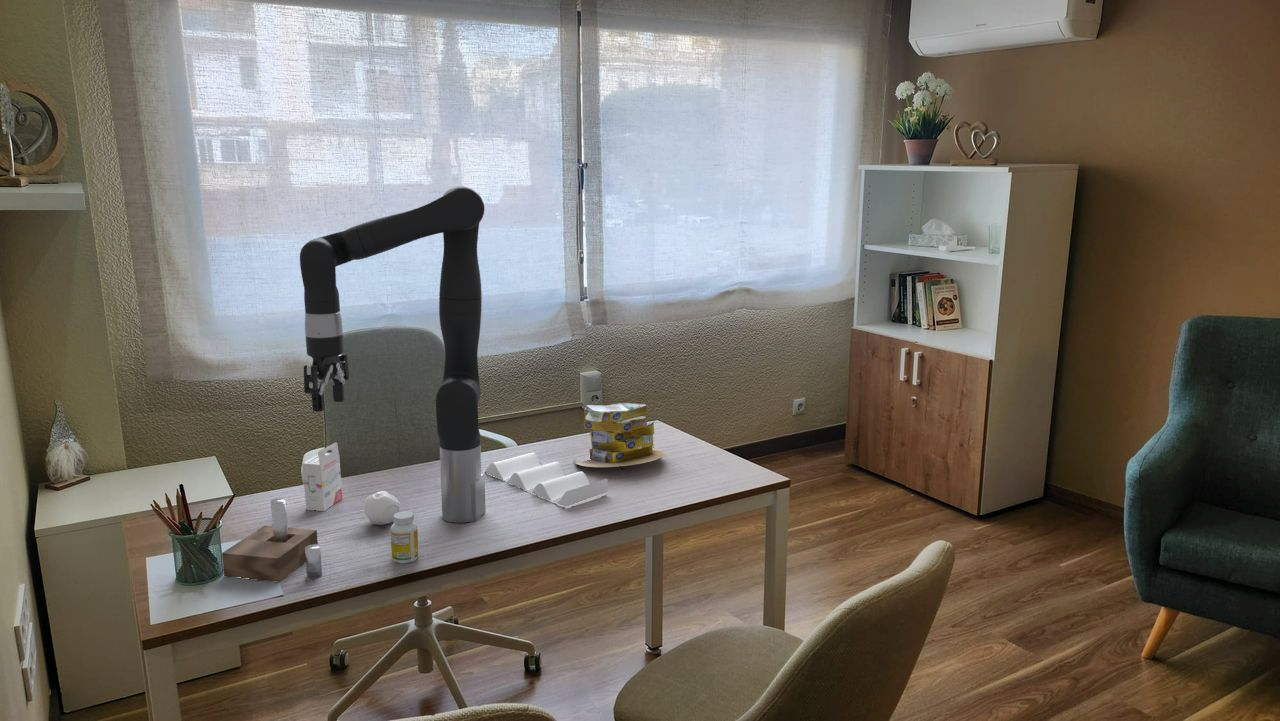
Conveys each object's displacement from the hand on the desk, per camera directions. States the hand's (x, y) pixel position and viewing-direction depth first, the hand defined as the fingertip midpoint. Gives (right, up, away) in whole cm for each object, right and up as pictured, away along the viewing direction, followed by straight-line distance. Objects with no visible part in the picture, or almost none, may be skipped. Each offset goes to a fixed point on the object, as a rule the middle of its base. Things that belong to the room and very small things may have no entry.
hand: (328, 406), depth 190 cm
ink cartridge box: (-8, -25, +19) cm, 32 cm away
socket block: (-7, -31, -13) cm, 35 cm away
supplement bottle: (+19, -31, -9) cm, 38 cm away
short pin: (+3, -33, -18) cm, 37 cm away
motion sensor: (+9, -27, +8) cm, 30 cm away
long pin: (-5, -31, -11) cm, 33 cm away
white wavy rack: (+43, -23, +35) cm, 60 cm away
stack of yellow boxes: (+62, -19, +52) cm, 83 cm away
